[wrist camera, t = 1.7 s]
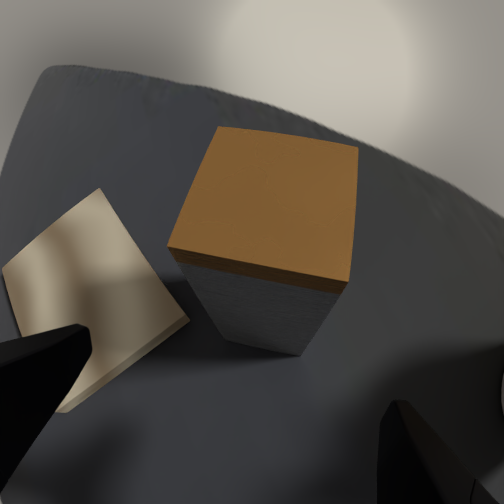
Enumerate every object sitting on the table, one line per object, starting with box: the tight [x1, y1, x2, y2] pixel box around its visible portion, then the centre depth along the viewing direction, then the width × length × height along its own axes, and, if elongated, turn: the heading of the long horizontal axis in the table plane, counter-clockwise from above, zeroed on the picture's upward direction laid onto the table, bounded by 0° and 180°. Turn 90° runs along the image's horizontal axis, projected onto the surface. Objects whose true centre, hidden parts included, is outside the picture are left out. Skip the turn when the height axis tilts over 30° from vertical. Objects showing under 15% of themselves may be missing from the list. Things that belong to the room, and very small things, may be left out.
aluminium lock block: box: [167, 126, 358, 356], centre depth 15 cm, size 5×5×13 cm
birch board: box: [2, 188, 190, 413], centre depth 21 cm, size 12×14×2 cm
